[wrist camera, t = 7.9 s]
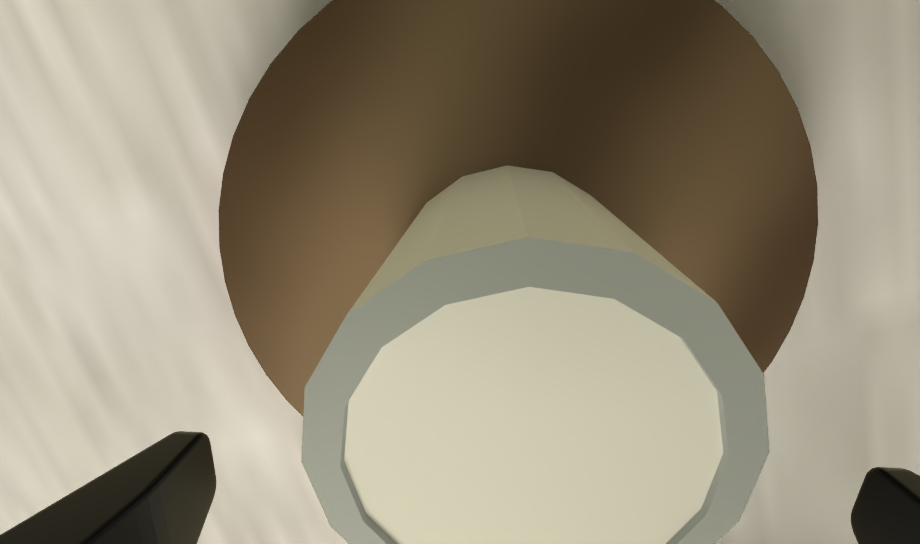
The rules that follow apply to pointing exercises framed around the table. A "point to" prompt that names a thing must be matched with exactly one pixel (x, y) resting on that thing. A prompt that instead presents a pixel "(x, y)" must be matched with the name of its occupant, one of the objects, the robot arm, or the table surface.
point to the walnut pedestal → (512, 152)
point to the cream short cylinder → (532, 384)
